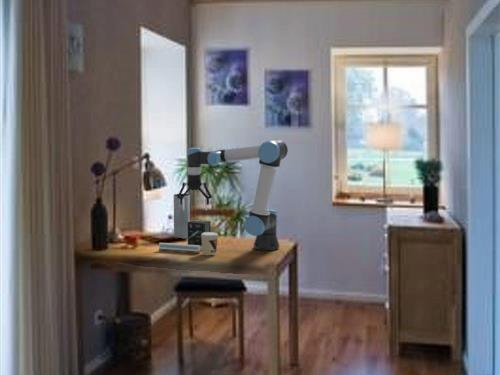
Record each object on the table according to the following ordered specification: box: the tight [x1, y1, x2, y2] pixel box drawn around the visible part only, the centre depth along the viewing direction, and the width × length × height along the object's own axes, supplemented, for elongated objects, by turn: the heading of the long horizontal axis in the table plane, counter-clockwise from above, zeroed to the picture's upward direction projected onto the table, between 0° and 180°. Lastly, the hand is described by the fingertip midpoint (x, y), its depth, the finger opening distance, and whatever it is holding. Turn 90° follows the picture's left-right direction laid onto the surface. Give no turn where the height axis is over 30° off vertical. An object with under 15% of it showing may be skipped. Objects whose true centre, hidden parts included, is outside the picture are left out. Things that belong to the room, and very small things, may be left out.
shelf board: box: [158, 246, 202, 254], centre depth 382 cm, size 24×14×2 cm, turn 75°
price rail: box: [158, 242, 199, 251], centre depth 376 cm, size 24×1×3 cm, turn 75°
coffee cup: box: [201, 231, 219, 256], centre depth 371 cm, size 9×9×12 cm
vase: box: [173, 193, 191, 240], centre depth 415 cm, size 10×10×27 cm
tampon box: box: [187, 219, 212, 246], centre depth 394 cm, size 11×9×15 cm
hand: (194, 210), depth 390 cm, fingers open, 13 cm apart
